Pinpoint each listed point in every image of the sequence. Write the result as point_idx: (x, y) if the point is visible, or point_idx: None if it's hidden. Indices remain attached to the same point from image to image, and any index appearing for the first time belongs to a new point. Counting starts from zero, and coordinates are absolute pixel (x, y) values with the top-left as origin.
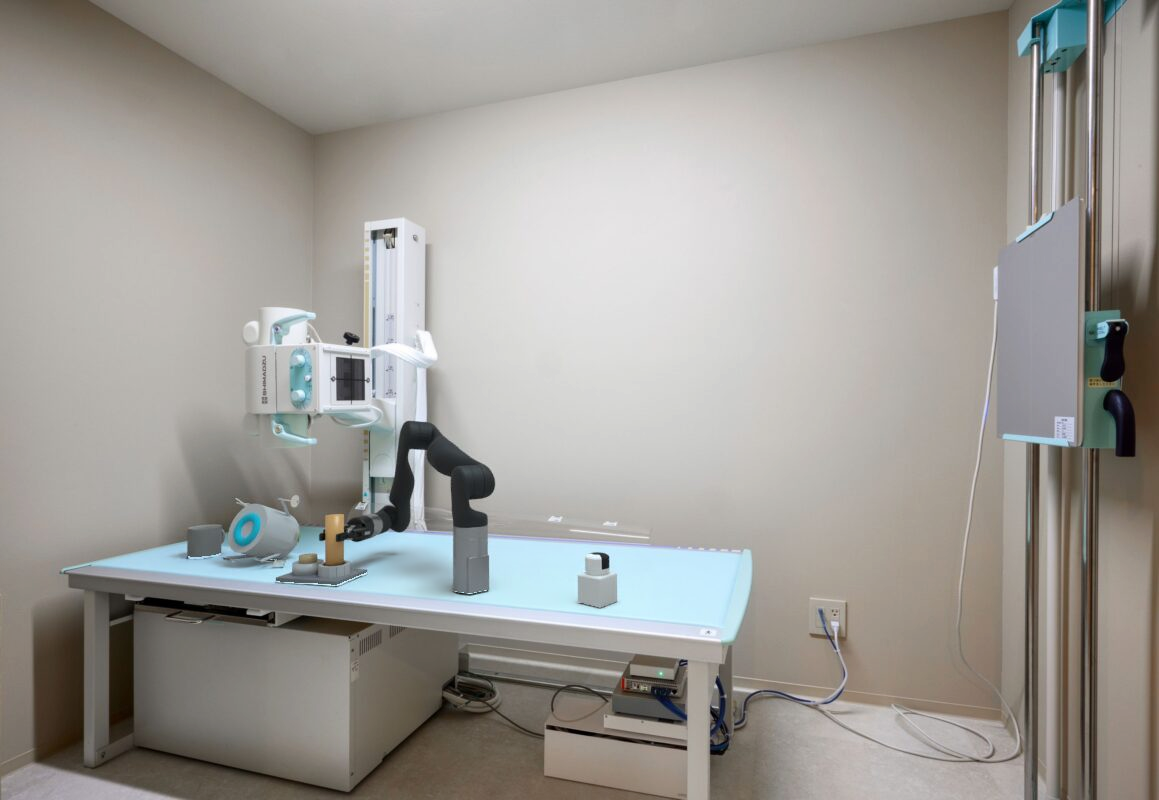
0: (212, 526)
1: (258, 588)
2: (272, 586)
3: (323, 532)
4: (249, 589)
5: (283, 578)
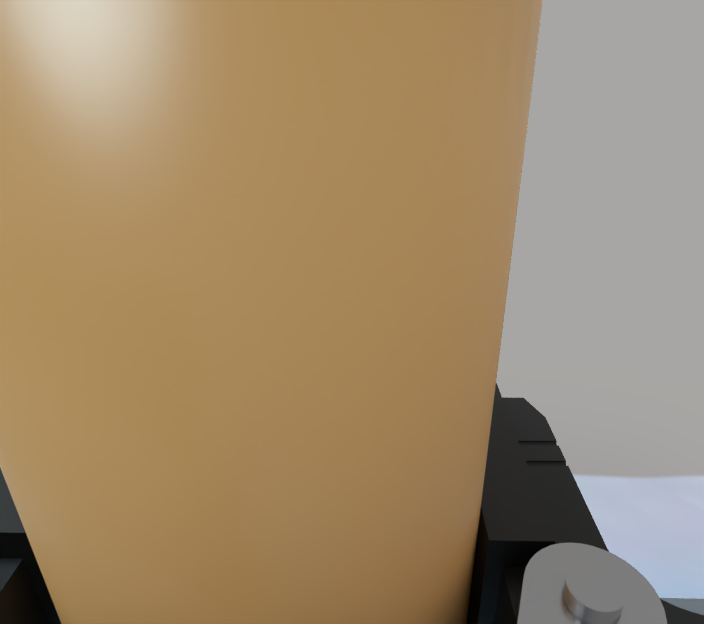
0: None
1: (669, 500)
2: (643, 549)
3: (498, 417)
4: (690, 478)
5: (673, 601)
